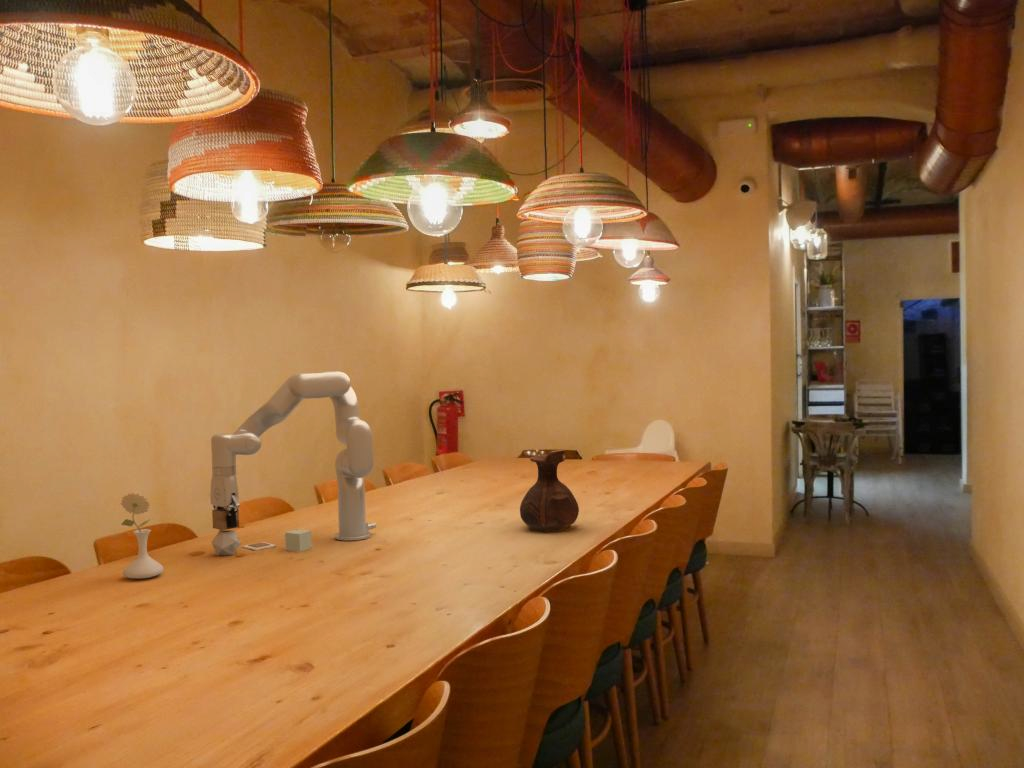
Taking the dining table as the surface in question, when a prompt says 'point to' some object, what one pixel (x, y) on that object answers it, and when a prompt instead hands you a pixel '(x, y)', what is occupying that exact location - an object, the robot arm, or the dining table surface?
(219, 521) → the walnut block
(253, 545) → the tile
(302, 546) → the sage block
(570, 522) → the dark brown vase
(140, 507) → the flower in vase
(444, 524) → the dining table surface
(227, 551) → the die
